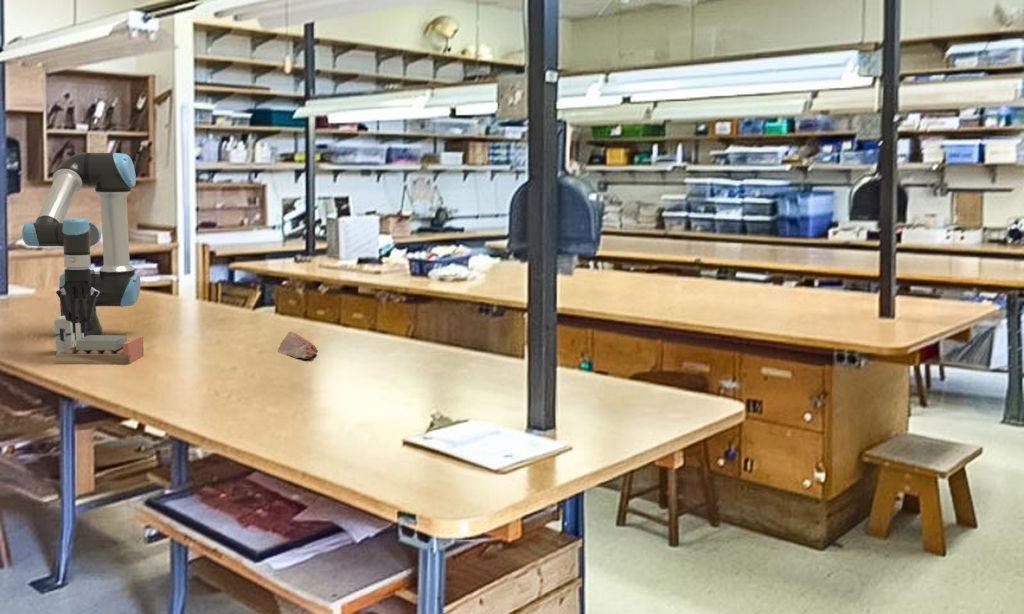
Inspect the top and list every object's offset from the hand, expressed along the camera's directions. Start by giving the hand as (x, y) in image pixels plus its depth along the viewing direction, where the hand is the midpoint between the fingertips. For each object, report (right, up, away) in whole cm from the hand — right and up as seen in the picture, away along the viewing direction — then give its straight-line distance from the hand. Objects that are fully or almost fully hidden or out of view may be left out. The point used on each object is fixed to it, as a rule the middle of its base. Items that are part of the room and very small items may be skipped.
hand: (80, 343), depth 312 cm
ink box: (-9, -4, +11) cm, 15 cm away
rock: (+67, -5, +16) cm, 69 cm away
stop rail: (+16, -5, +2) cm, 17 cm away
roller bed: (+6, -5, +1) cm, 8 cm away
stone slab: (+7, -1, +1) cm, 7 cm away
